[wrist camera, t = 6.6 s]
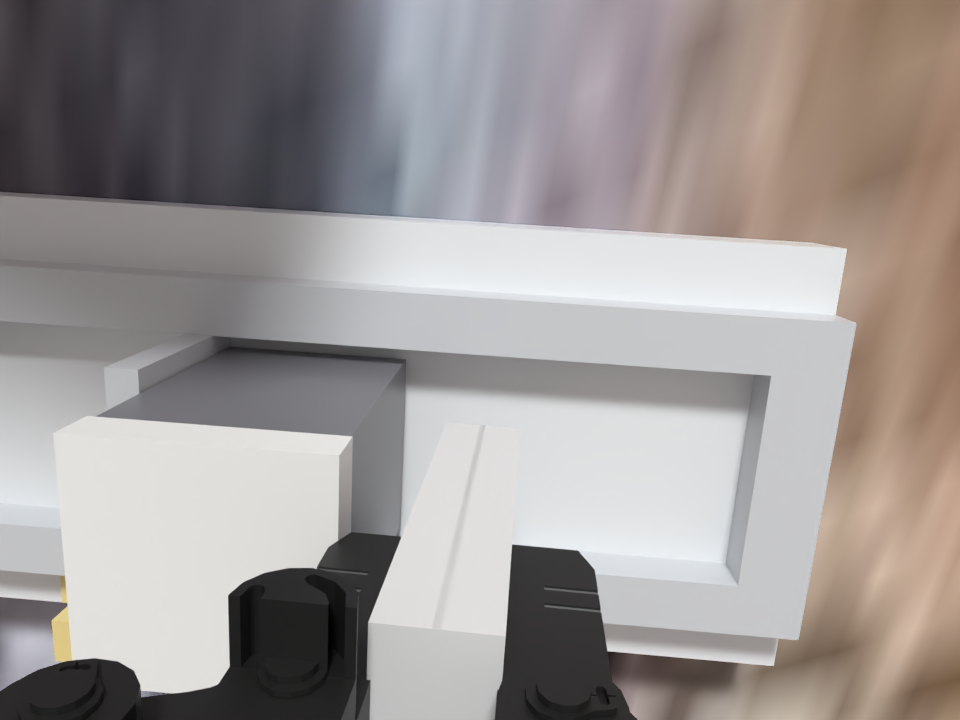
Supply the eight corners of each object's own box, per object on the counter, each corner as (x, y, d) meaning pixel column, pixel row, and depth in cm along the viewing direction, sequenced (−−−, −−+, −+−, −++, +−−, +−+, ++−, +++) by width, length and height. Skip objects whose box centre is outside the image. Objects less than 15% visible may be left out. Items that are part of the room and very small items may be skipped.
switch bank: (-210, 535, 20) (-502, 671, 15) (-274, 174, 18) (-652, 166, 12) (748, 617, 19) (846, 803, 13) (810, 242, 17) (959, 268, 11)
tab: (231, 512, 17) (73, 683, 11) (227, 344, 16) (53, 433, 10) (402, 526, 17) (335, 709, 11) (408, 356, 16) (339, 455, 10)
